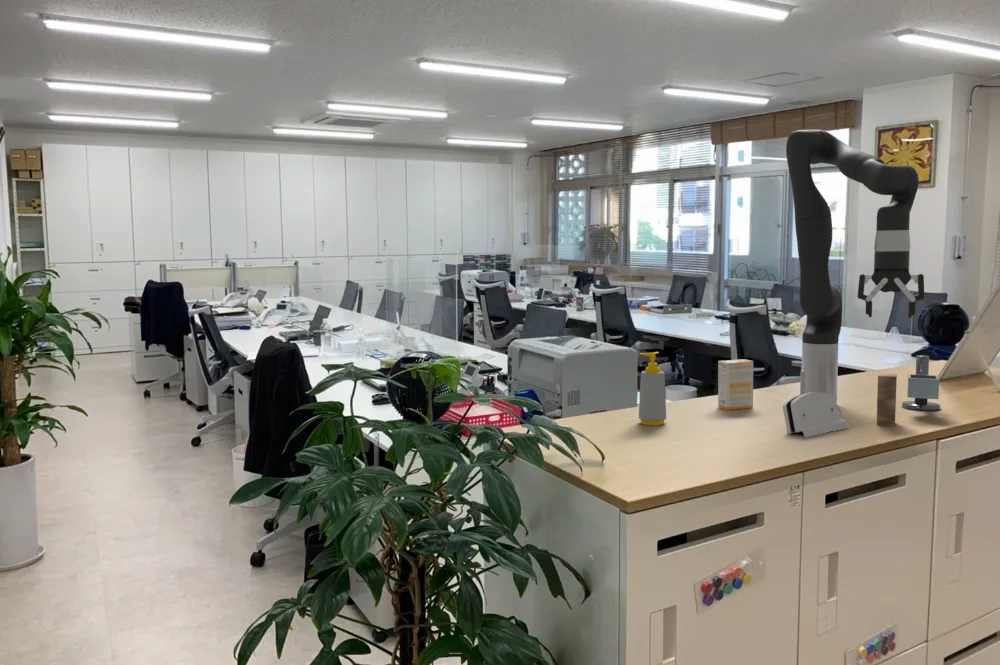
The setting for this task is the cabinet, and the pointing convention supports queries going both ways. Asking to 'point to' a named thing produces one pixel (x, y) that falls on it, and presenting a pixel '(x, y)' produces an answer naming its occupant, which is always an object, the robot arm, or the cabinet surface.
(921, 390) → the cup bracket
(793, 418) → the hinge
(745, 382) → the supplement box
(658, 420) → the soap bottle
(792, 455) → the cabinet surface
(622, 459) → the cabinet surface
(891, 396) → the rail post
